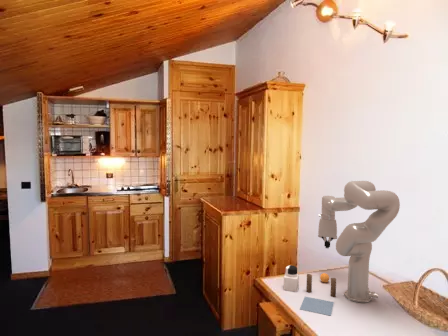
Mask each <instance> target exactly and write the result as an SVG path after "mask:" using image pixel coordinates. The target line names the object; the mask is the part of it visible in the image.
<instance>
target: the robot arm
mask: <svg viewBox="0 0 448 336" xmlns="http://www.w3.org/2000/svg"><path fill="white" fill-rule="evenodd" d="M376 189H377V188H376V186H375V184H374V183H373V182H371V181H369V180H368V181H367V180H351V181H349V182H347V183H346V184H345V186H344V189H343V192H344V193H343V197H335V196H333V195H323V196H322V197H321V213H320V214H318V217H320V218H319V222H318V233H317V234H318V235H317V237H318V238H320V239H322V240H323V242H324V247H325V249H327V250H329V248H331V241H333V240H336V243H335V250H336V252H337V253H338V254H339V255H340V256H342V257H349V260H348V268H347V269H348V270H347V271H348V272H347V289H346V290H345V291H344V295H343V296H344V297H345V298H346V299H348V300H349V301H351V302H356V303H360V304H361V303H362V304H363V303H364V304H365V303H368V302H370V301H372V298H375V299H378V298H379V294H378V293H376V292H375V291H372V290H370V289H369V278H370V277H369V274H370V273H369V272H370V258H371V254H372V251H373V242H376V241H377V240H378V238H379V237H380V236H381V235H382V234H383V232H384V231H385V230H386V228H387V227H388V226H389V225H390V224H391V223H392V222H393V221H394V219H396V218H397V216H398V214H399V211H400V208H401V207H400V206H401V205H400V204H401V203H400V198H399V195H397V194H396V193H395V192H393V191H391V190H376ZM357 207H359V208H361V209H363V210H367V211H370V210H371V211H372V210H374V212H372V213H371V214H370V215H369V216H368V218H367V219H366V220H365V221H363V222H356V223H355V222H354V223H350V224H348V225H347V226H345V228H344V229H343V230H342V231H341V233H340V235H339V236H338V227H337V219H336V212H347V211H351V210H353V209H355V208H357ZM327 238H328V239H327Z"/></svg>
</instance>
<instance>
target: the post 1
mask: <svg viewBox="0 0 448 336" xmlns="http://www.w3.org/2000/svg"><path fill="white" fill-rule="evenodd" d="M312 282H313V274H312V273H307V274H306V293H308V294H309V293H312V290H313V289H312V288H313V287H312V286H313V283H312Z"/></svg>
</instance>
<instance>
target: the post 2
mask: <svg viewBox="0 0 448 336" xmlns="http://www.w3.org/2000/svg"><path fill="white" fill-rule="evenodd" d="M329 295H330V297H331V298H337V278H335V277H331V278H330V294H329Z"/></svg>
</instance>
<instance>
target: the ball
mask: <svg viewBox="0 0 448 336" xmlns="http://www.w3.org/2000/svg"><path fill="white" fill-rule="evenodd" d="M319 279H320V281H321V282H322V283H328V282H329V280H330V276H329V274H328V273H325V272H324V273H321V274H320V275H319Z"/></svg>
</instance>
